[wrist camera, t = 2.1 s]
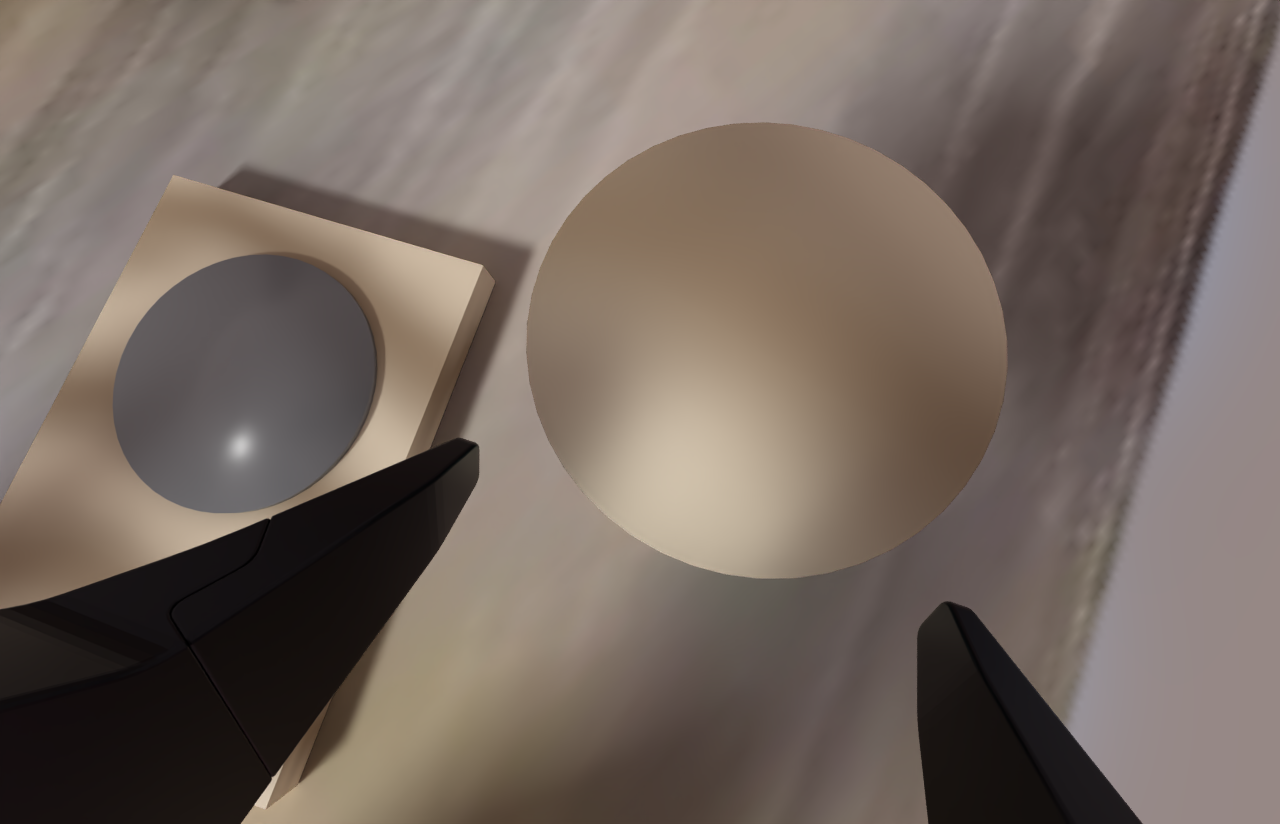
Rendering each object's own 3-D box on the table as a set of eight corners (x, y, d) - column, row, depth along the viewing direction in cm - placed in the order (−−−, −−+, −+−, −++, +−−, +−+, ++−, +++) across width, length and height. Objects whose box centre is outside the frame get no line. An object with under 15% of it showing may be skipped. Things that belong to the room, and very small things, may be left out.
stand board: (297, 785, 18) (258, 815, 16) (-28, 651, 20) (-96, 666, 18) (495, 282, 21) (480, 261, 20) (204, 196, 23) (166, 170, 21)
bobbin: (766, 573, 19) (984, 709, 6) (573, 508, 20) (409, 509, 7) (817, 382, 20) (1089, 164, 7) (634, 328, 21) (592, 44, 8)
